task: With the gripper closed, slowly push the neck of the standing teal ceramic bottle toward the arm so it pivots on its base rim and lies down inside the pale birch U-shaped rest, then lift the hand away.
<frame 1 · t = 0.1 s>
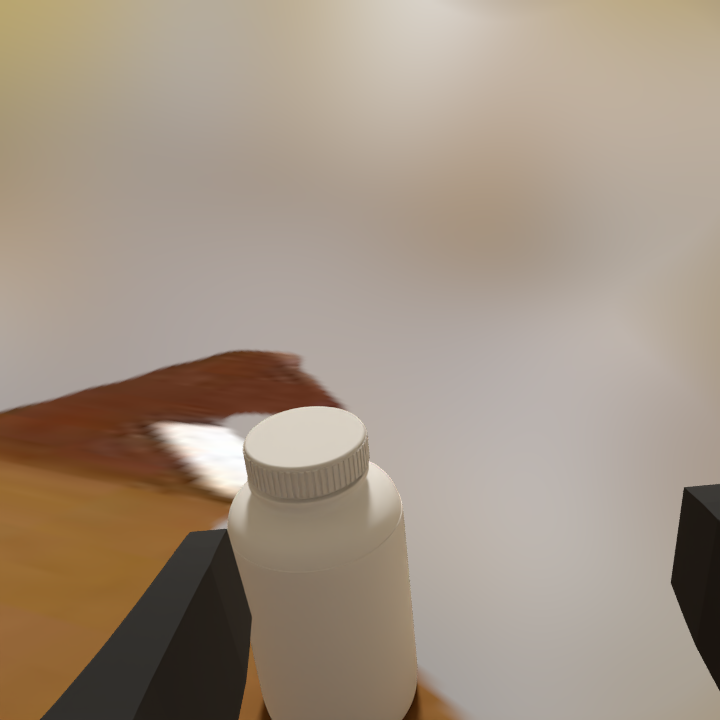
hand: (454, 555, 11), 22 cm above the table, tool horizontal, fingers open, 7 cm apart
pill bottle: (343, 688, 34), on the table
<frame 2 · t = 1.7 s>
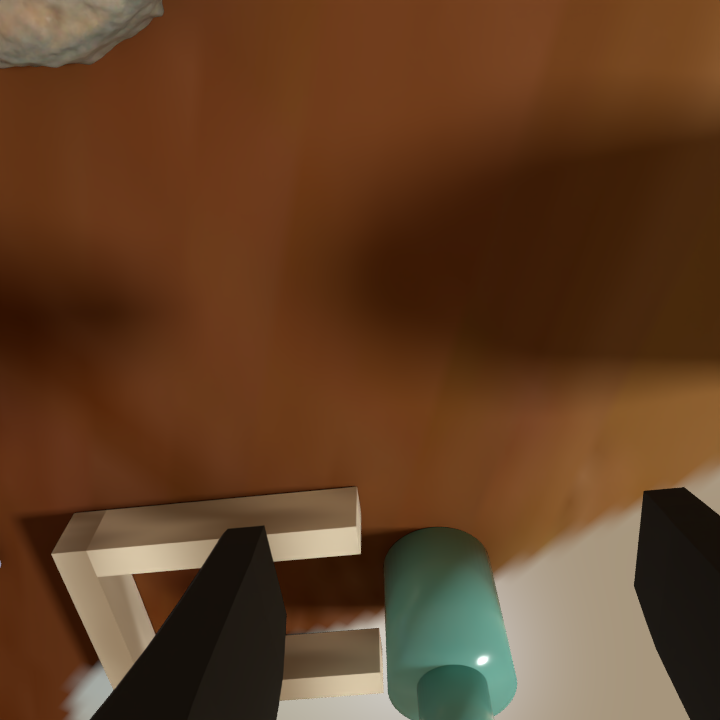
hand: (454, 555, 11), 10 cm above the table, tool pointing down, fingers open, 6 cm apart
bottle: (436, 567, 25), on the table
cradle: (253, 583, 25), on the table
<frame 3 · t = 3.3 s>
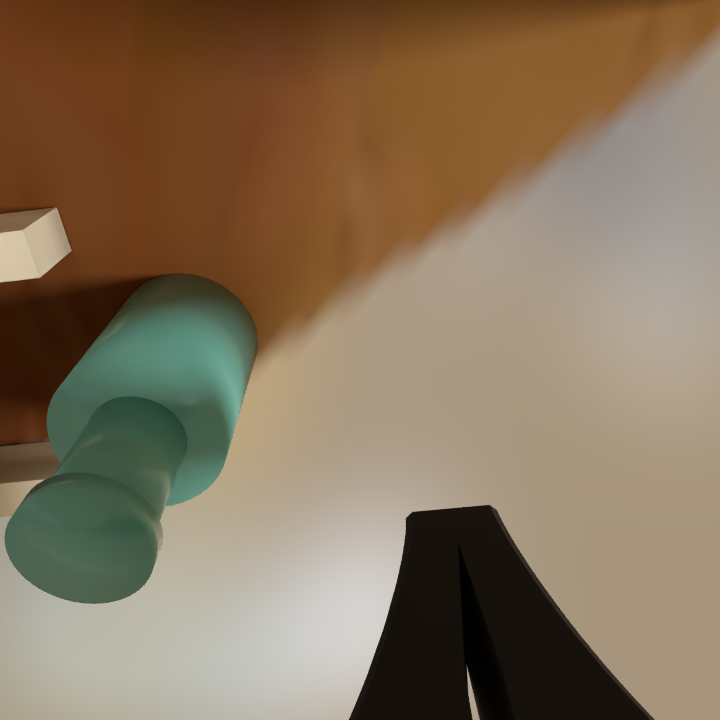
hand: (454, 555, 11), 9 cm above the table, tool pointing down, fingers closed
bottle: (188, 338, 19), on the table
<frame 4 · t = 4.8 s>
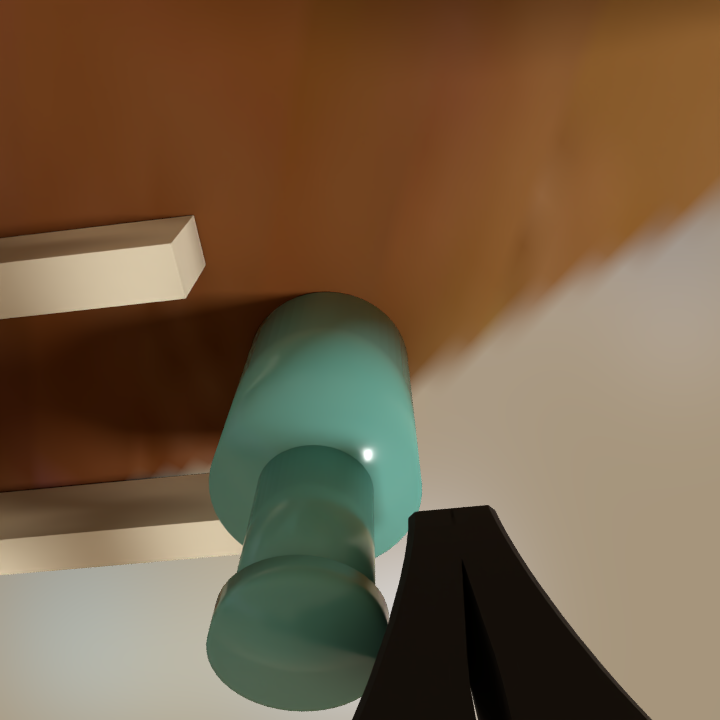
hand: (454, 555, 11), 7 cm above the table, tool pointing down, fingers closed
bottle: (329, 364, 17), on the table, touching gripper
cradle: (62, 392, 17), on the table
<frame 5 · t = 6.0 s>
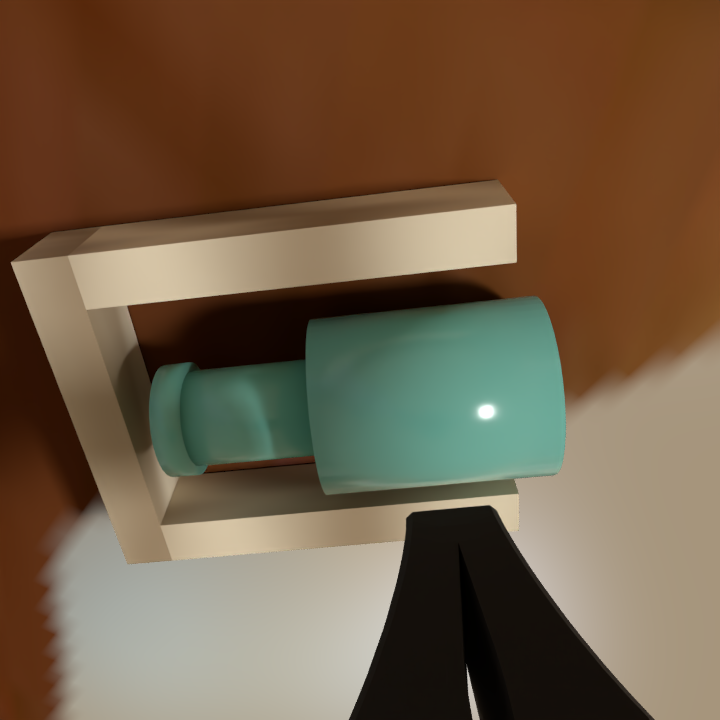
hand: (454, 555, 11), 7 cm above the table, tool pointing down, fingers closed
bottle: (541, 384, 15), point 2 cm above the table, tilted 90°
cradle: (323, 366, 17), on the table
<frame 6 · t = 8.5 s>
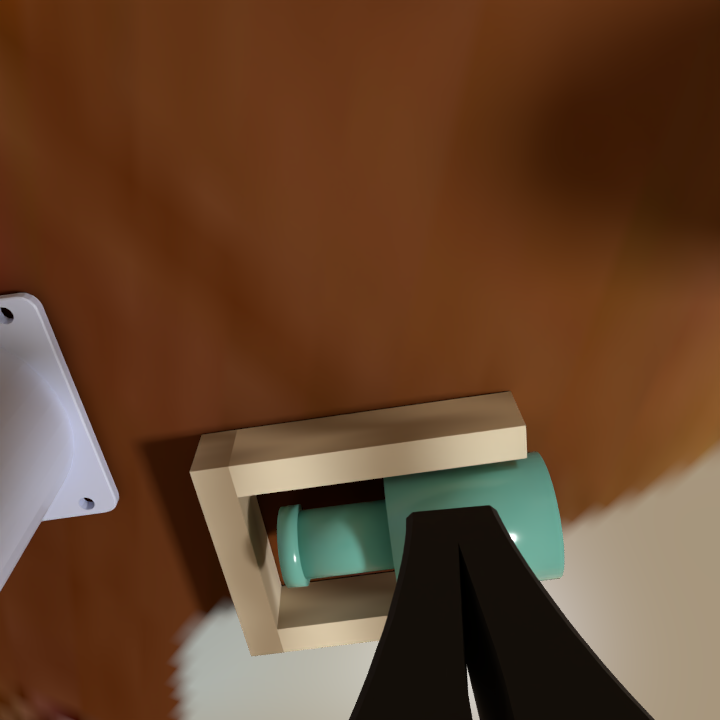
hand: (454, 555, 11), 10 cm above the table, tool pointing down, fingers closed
bottle: (545, 513, 21), point 2 cm above the table, tilted 90°
cradle: (389, 509, 24), on the table
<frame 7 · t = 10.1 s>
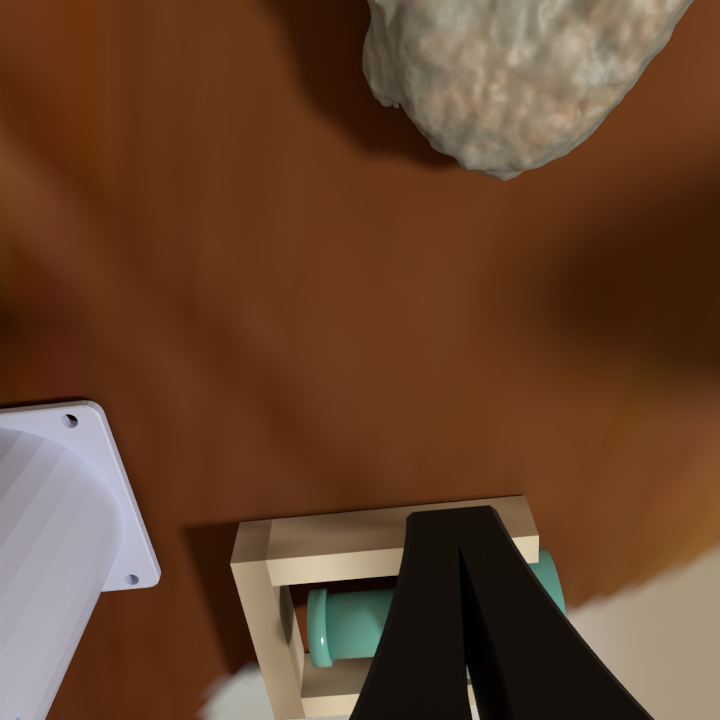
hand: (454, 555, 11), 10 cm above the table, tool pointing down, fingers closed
bottle: (553, 608, 23), point 2 cm above the table, tilted 90°
cradle: (407, 591, 26), on the table
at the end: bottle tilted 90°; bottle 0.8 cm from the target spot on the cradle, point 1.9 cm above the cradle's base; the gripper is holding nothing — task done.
